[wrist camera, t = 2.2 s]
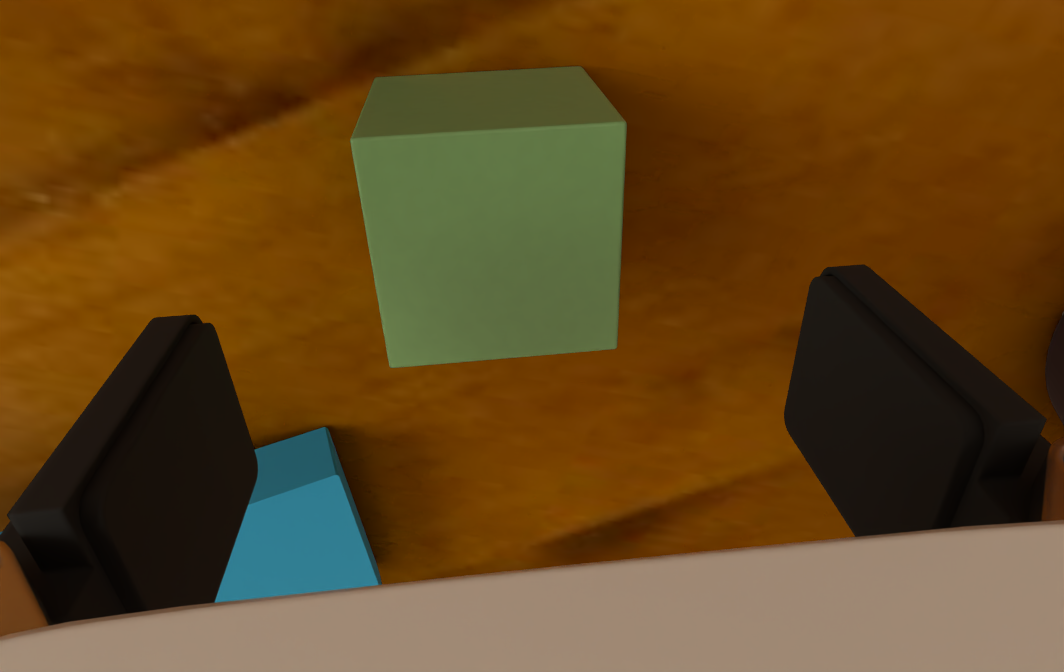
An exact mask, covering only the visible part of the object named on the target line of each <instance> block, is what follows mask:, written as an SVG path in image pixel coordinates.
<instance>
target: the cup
mask: <svg viewBox="0 0 1064 672" xmlns="http://www.w3.org/2000/svg"><path fill="white" fill-rule="evenodd" d="M1045 376H1046V385H1047V390H1048V394H1049V397H1050V400H1051V402H1052V404H1053V407H1054V409H1055V410H1056V412H1057V414H1058V416H1059V418H1060V419H1061V421H1062V423H1063V425H1064V312H1063V314H1062V317H1061V319H1060V321H1059V323H1058V325H1057V327H1056V329H1055V332H1054V334H1053V337H1052V339H1051V343H1050V346H1049V349H1048V354H1047V359H1046V368H1045Z"/></svg>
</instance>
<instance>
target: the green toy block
mask: <svg viewBox="0 0 1064 672" xmlns="http://www.w3.org/2000/svg"><path fill="white" fill-rule="evenodd" d="M626 133H627V123H626V121H625V120H624V119H623V118H622V116H621V115H620V114H619V113H618V111H617V110H616V109H615V108H614V106H613V105H612V104H611V103H610V101H609V100H608V99H607V98H606V96H605V95H604V94H603V93H602V91H601V90H600V89H599V88H598V86H597V85H596V84H595V83H594V81H593V80H592V79H591V78H590V76H589V75H588V74H587V73H586V71H585V70H584V69H583V68H582V67H581V66H573V67H555V68H537V69H519V70H500V71H482V72H464V73H446V74H428V75H410V76H391V77H376V78H375V79H374V81H373V84H372V86H371V89H370V92H369V94H368V97H367V99H366V102H365V104H364V107H363V109H362V112H361V114H360V117H359V119H358V122H357V124H356V127H355V129H354V132H353V134H352V137H351V140H350V143H351V149H352V154H353V160H354V166H355V172H356V177H357V183H358V189H359V195H360V200H361V206H362V212H363V217H364V223H365V229H366V235H367V240H368V246H369V252H370V257H371V263H372V269H373V275H374V280H375V286H376V292H377V298H378V303H379V309H380V315H381V320H382V326H383V332H384V338H385V343H386V349H387V355H388V360H389V365H390V367H391V368H398V367H410V366H421V365H433V364H445V363H457V362H468V361H480V360H492V359H504V358H515V357H527V356H539V355H551V354H562V353H574V352H586V351H598V350H609V349H616V348H617V341H618V318H619V295H620V271H621V248H622V225H623V202H624V179H625V156H626Z"/></svg>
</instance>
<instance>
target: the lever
mask: <svg viewBox="0 0 1064 672" xmlns="http://www.w3.org/2000/svg"><path fill="white" fill-rule="evenodd" d="M255 454H256V457H257V462H258V476H257V481H256V484H255V487H254V490H253V493H252V495H251V498H250V501H249V504H248V507H247V510H246V513H245V516H244V519H243V522H242V524H241V527H240V530H239V533H238V536H237V539H236V542H235V545H234V548H233V550H232V553H231V556H230V559H229V562H228V565H227V568H226V571H225V574H224V576H223V579H222V582H221V585H220V588H219V591H218V594H217V597H216V600H215V603H216V602H226V601H235V600H245V599H254V598H263V597H273V596H282V595H291V594H301V593H310V592H319V591H329V590H338V589H347V588H357V587H366V586H375V585H382V582H381V578H380V575H379V571H378V567H377V564H376V561H375V558H374V555H373V553H372V550H371V547H370V544H369V541H368V539H367V536H366V533H365V530H364V527H363V525H362V522H361V519H360V516H359V513H358V511H357V508H356V505H355V502H354V500H353V497H352V494H351V491H350V488H349V486H348V483H347V480H346V477H345V474H344V472H343V469H342V466H341V463H340V460H339V458H338V455H337V452H336V449H335V446H334V444H333V441H332V438H331V435H330V432H329V430H328V428H326V427H323V428H320V429H316V430H313V431H310V432H307V433H304V434H301V435H298V436H295V437H292V438H289V439H286V440H283V441H279V442H276V443H273V444H270V445H267V446H264V447H261V448H258V449H255ZM2 532H3V531H2ZM2 532H0V535H1V533H2Z"/></svg>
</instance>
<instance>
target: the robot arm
mask: <svg viewBox="0 0 1064 672" xmlns="http://www.w3.org/2000/svg"><path fill="white" fill-rule="evenodd" d="M784 419H785V425H786V428H787V430H788V432H789V434H790V436H791V437H792V439H793V440H794V442H795V444H796V445H797V447H798V448H799V450H800V451H801V453H802V454H803V456H804V457H805V459H806V461H807V462H808V464H809V465H810V467H811V468H812V470H813V471H814V473H815V475H816V476H817V478H818V479H819V481H820V482H821V484H822V485H823V487H824V488H825V490H826V492H827V493H828V495H829V496H830V498H831V499H832V501H833V502H834V504H835V506H836V507H837V509H838V510H839V512H840V513H841V515H842V516H843V518H844V519H845V521H846V523H847V524H848V526H849V527H850V529H851V530H852V532H853V533H854V535H855V537H851V538H840V539H830V540H819V541H809V542H799V543H788V544H778V545H767V546H757V547H746V548H736V549H726V550H715V551H705V552H695V553H685V554H675V555H665V556H655V557H645V558H635V559H625V560H615V561H605V562H595V563H585V564H576V565H566V566H556V567H546V568H537V569H527V570H517V571H507V572H498V573H488V574H478V575H468V576H459V577H450V578H440V579H431V580H422V581H413V582H403V583H394V584H385V585H375V586H366V587H357V588H347V589H338V590H329V591H319V592H310V593H301V594H291V595H282V596H273V597H263V598H254V599H245V600H235V601H226V602H216V603H215V600H216V597H217V594H218V591H219V588H220V585H221V582H222V579H223V576H224V574H225V571H226V568H227V565H228V562H229V559H230V556H231V553H232V550H233V548H234V545H235V542H236V539H237V536H238V533H239V530H240V527H241V524H242V522H243V519H244V516H245V513H246V510H247V507H248V504H249V501H250V498H251V495H252V493H253V490H254V487H255V484H256V481H257V476H258V462H257V457H256V454H255V450H254V447H253V444H252V441H251V438H250V435H249V432H248V429H247V426H246V423H245V419H244V416H243V413H242V410H241V407H240V404H239V401H238V398H237V395H236V391H235V388H234V385H233V382H232V379H231V376H230V373H229V370H228V367H227V364H226V360H225V357H224V354H223V351H222V348H221V345H220V342H219V339H218V336H217V333H216V330H215V328H214V326H213V325H212V324H210V323H202V321H201V320H200V318H199V317H198V316H196V315H183V316H169V317H157V318H153V319H152V320H151V321H150V322H149V324H148V325H147V326H146V328H145V329H144V330H143V332H142V333H141V334H140V336H139V337H138V338H137V340H136V341H135V343H134V344H133V345H132V347H131V348H130V349H129V351H128V352H127V353H126V355H125V356H124V357H123V359H122V360H121V361H120V363H119V364H118V365H117V367H116V368H115V370H114V371H113V372H112V374H111V375H110V376H109V378H108V379H107V380H106V382H105V383H104V384H103V386H102V387H101V388H100V390H99V391H98V392H97V394H96V395H95V397H94V398H93V399H92V401H91V402H90V403H89V405H88V406H87V407H86V409H85V410H84V411H83V413H82V414H81V415H80V417H79V418H78V419H77V421H76V422H75V424H74V425H73V426H72V428H71V429H70V430H69V432H68V433H67V434H66V436H65V437H64V438H63V440H62V441H61V442H60V444H59V445H58V446H57V448H56V449H55V451H54V452H53V453H52V455H51V456H50V457H49V459H48V460H47V461H46V463H45V464H44V465H43V467H42V468H41V469H40V471H39V472H38V473H37V475H36V476H35V478H34V479H33V480H32V482H31V483H30V484H29V486H28V487H27V488H26V490H25V491H24V492H23V494H22V495H21V496H20V498H19V499H18V500H17V502H16V503H15V505H14V506H13V507H12V509H11V510H10V511H9V513H8V514H7V516H8V518H9V519H10V522H9V524H8V525H7V526H6V528H5V529H4V531H3V532H2V533H1V535H0V672H1064V437H1062V438H1060V439H1058V440H1056V441H1055V442H1053V443H1052V444H1050V443H1049V442H1048V441H1047V440H1045V439H1044V438H1043V437H1042V436H1041V435H1040V433H1041V431H1042V429H1043V427H1044V425H1045V422H1046V420H1047V419H1046V418H1045V417H1044V416H1042V415H1041V414H1040V413H1039V412H1038V411H1037V410H1035V409H1034V408H1033V407H1032V406H1031V405H1030V404H1028V403H1027V402H1026V401H1025V400H1024V399H1023V398H1021V397H1020V396H1019V395H1018V394H1017V393H1016V392H1014V391H1013V390H1012V389H1011V388H1010V387H1008V386H1007V385H1006V384H1005V383H1004V382H1003V381H1001V380H1000V379H999V378H998V377H997V376H996V375H994V374H993V373H992V372H991V371H990V370H989V369H987V368H986V367H985V366H984V365H983V364H982V363H980V362H979V361H978V360H977V359H976V358H974V357H973V356H972V355H971V354H970V353H969V352H967V351H966V350H965V349H964V348H963V347H962V346H960V345H959V344H958V343H957V342H956V341H955V340H953V339H952V338H951V337H950V336H949V335H948V334H946V333H945V332H944V331H943V330H942V329H940V328H939V327H938V326H937V325H936V324H935V323H933V322H932V321H931V320H930V319H929V318H928V317H926V316H925V315H924V314H923V313H922V312H921V311H919V310H918V309H917V308H916V307H915V306H914V305H912V304H911V303H910V302H909V301H908V300H907V299H905V298H904V297H903V296H902V295H901V294H899V293H898V292H897V291H896V290H895V289H894V288H892V287H891V286H890V285H889V284H888V283H887V282H885V281H884V280H883V279H882V278H881V277H880V276H878V275H877V274H876V273H875V272H874V271H873V270H871V269H870V268H869V267H867V266H866V265H851V266H838V267H827V268H826V269H824V270H823V272H822V274H821V275H820V277H815V278H814V279H813V280H812V282H811V284H810V287H809V292H808V297H807V302H806V307H805V311H804V316H803V321H802V326H801V331H800V336H799V341H798V346H797V351H796V356H795V361H794V366H793V371H792V375H791V380H790V385H789V390H788V395H787V400H786V405H785V411H784Z"/></svg>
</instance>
